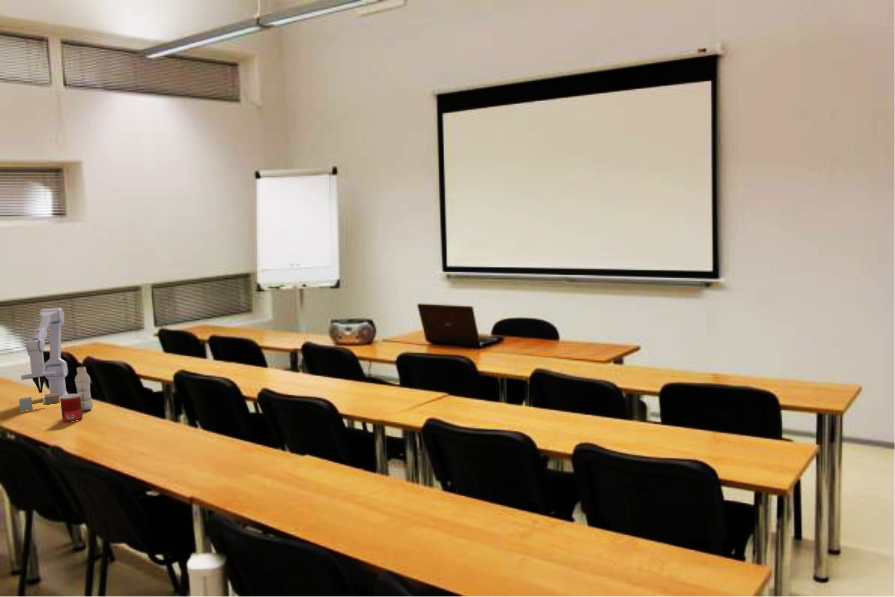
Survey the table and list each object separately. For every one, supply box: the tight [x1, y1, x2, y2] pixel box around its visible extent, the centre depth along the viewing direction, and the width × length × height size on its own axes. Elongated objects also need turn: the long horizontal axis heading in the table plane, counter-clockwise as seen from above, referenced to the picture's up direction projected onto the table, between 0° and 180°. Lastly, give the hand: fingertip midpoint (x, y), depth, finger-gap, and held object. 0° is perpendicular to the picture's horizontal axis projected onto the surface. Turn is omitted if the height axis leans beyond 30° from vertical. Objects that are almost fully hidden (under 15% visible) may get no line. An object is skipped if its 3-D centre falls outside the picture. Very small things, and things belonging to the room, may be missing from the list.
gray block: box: [18, 396, 34, 412], centre depth 356 cm, size 5×5×5 cm
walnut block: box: [41, 393, 60, 405], centre depth 367 cm, size 6×4×7 cm
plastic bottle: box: [74, 366, 94, 412], centre depth 349 cm, size 6×7×20 cm
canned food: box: [59, 393, 83, 423], centre depth 333 cm, size 8×8×11 cm
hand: (40, 392), depth 364 cm, fingers closed
